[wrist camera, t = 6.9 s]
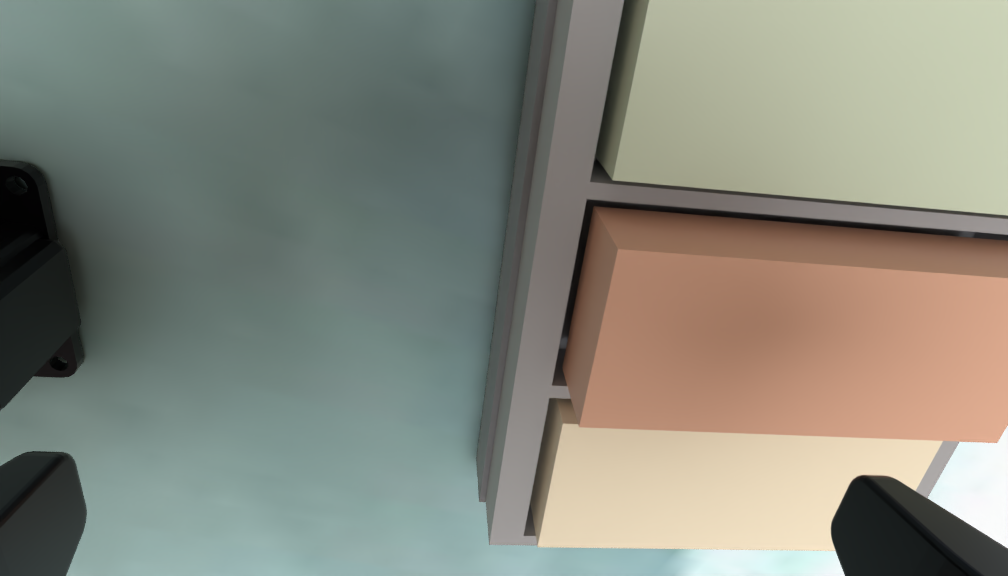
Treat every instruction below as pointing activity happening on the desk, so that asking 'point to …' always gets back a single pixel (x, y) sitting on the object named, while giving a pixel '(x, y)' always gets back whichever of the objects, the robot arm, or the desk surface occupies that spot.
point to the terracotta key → (788, 329)
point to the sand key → (702, 485)
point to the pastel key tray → (563, 236)
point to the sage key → (814, 100)
